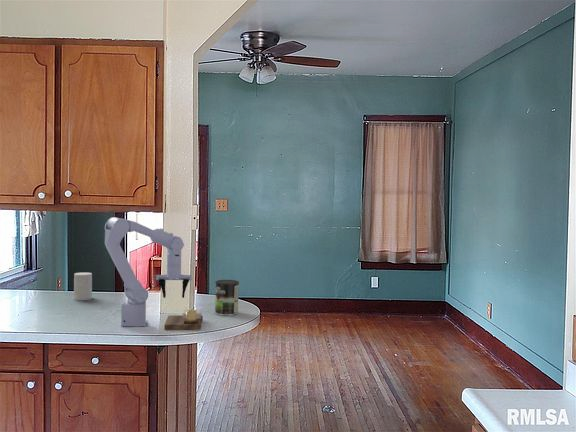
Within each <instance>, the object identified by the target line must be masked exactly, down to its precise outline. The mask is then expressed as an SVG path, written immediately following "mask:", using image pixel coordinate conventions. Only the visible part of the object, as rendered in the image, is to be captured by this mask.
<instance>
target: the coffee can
mask: <svg viewBox="0 0 576 432" xmlns="http://www.w3.org/2000/svg"><path fill="white" fill-rule="evenodd" d="M239 286H240V281H239V280H236V279H234V280H233V279H220V280H216V281H215V300H214V301H215V303H214V306H215V308H214V309H215V311H214V314H215V315H217V316H222V317H229V316H228V315H233V316H235V315H234V314H237V313H238V314H239V289H240V288H239ZM238 314H237V315H238Z"/></svg>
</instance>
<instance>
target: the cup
mask: <svg viewBox="0 0 576 432" xmlns="http://www.w3.org/2000/svg"><path fill="white" fill-rule="evenodd" d="M73 277H74V278H73V299H74V300H75V301H87V300H88V301H89V300H92V299H93V273H92V272H74V274H73Z"/></svg>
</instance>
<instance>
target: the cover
mask: <svg viewBox="0 0 576 432" xmlns="http://www.w3.org/2000/svg"><path fill="white" fill-rule="evenodd" d="M187 310H188V309H184V311H183V313H182V314H183V319H186V311H187ZM194 310H195V311H196V319H201V315H202V309H194Z"/></svg>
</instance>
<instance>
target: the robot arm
mask: <svg viewBox="0 0 576 432" xmlns="http://www.w3.org/2000/svg"><path fill="white" fill-rule="evenodd" d="M128 232H129V233H132V232H136V233H137V234H141V235H143V236H146V237H149V239H150V241H151V242H152V243H155V244H157V245H159V246H161V247H162V246H163V247H166V249H167V251H166V253H167V254H166V255H167V256H166V262H167V265H166V274H156V275H155V280H156V281H158V285H159V287H160V289H161V292H162V298H164V299H165V298H166V295H167V293H166V281H182V293H181V297H182V298H183V299H184V298H185V293H186V290H187V287H188V284H189V282H190V281H192V280H193V277H192V274H182V249H183V248H184V245H185V243H184V240H183V239H182V238H181V237H179V236H176V235H174V233H173V232H170V233H169V232H167V231H165V230H164V228H161V227H160V228H155V229H152V228H149V227H147V226H145V225H143V224H140V223H139V222H136V221H133V220H129V219H126V218H119V217H117V216H116V217H115V216H113V217H110V218H109V219H107V221H106V223H105V225H104V245H105V248H106V250H107V252H108V254H109V256H110V258H111V260H112V262H113V264H114V266H115V268H116V269H117V273H119V275H120V278H121V279H122V282H123V287H124V291H125V292H124V294H125V297H126V298H127V302H126V301H125V302H122V303H121V309H120V311H121V312H120V313H121V319H120V320H121V321H120V322H121V323H120V326H121V327H146V326H147V324H148V322H149V321H148V320H147V318H146V317H147V316H146V315H147V306H146V305H147V300H148V299H149V291H148V289H147V288H145V287H144V286H143V284H142V283H141V281H139V280H138V279H139V278H137V276H136V274H135V272H134V270H133V268H132V266H131V264H130V263H129V261H128V258H127V257H126V254H125V251H124V250H123V248H122V246H121V242H122V240H123V239H124V237H125V236H126V235H127V234H128Z"/></svg>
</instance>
